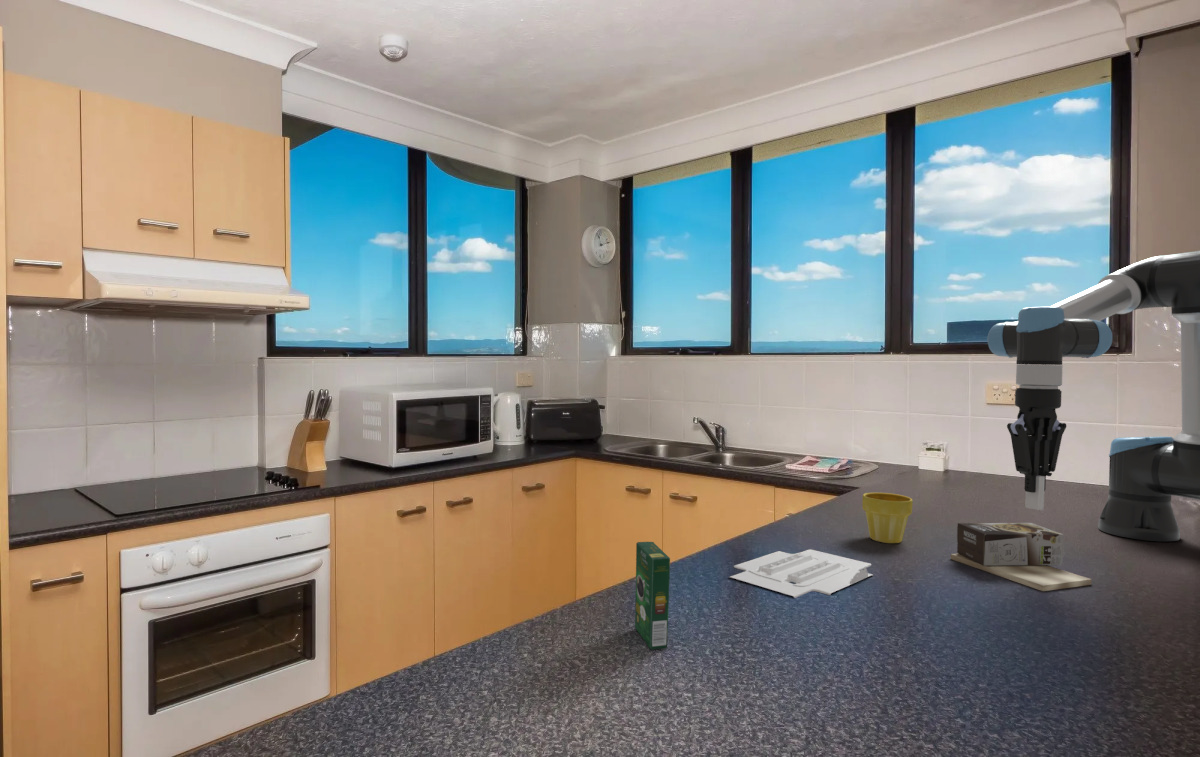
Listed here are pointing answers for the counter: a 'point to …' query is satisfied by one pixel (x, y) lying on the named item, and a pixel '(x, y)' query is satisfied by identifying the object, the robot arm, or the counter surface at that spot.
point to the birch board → (1031, 575)
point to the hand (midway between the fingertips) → (1034, 508)
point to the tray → (802, 572)
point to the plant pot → (887, 515)
